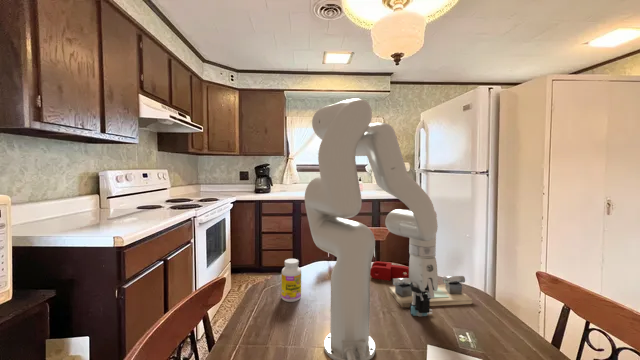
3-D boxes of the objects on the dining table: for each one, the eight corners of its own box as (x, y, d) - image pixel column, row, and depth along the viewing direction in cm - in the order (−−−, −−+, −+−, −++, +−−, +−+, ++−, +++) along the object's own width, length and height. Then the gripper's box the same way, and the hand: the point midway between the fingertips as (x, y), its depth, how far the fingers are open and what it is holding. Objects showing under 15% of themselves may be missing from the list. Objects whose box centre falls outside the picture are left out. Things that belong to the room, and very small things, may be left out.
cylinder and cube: (467, 294, 97) (467, 278, 96) (396, 297, 94) (396, 281, 94) (458, 288, 101) (459, 273, 101) (391, 291, 98) (391, 276, 98)
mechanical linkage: (369, 278, 114) (369, 266, 114) (372, 272, 121) (372, 260, 120) (411, 283, 109) (411, 271, 109) (411, 276, 116) (411, 264, 116)
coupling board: (472, 303, 93) (472, 298, 93) (402, 307, 90) (402, 301, 90) (451, 288, 105) (451, 283, 105) (388, 290, 102) (388, 286, 102)
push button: (429, 310, 89) (430, 279, 88) (434, 319, 83) (435, 286, 83) (407, 309, 89) (408, 278, 89) (411, 318, 84) (412, 285, 83)
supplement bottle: (282, 303, 92) (282, 265, 92) (280, 294, 99) (280, 258, 98) (303, 301, 94) (303, 263, 93) (299, 292, 100) (299, 256, 100)
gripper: (449, 258, 78) (447, 323, 79) (421, 241, 94) (420, 296, 95) (423, 259, 77) (421, 325, 78) (399, 242, 93) (398, 297, 94)
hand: (420, 308), depth 86 cm, fingers closed on push button, 3 cm apart
